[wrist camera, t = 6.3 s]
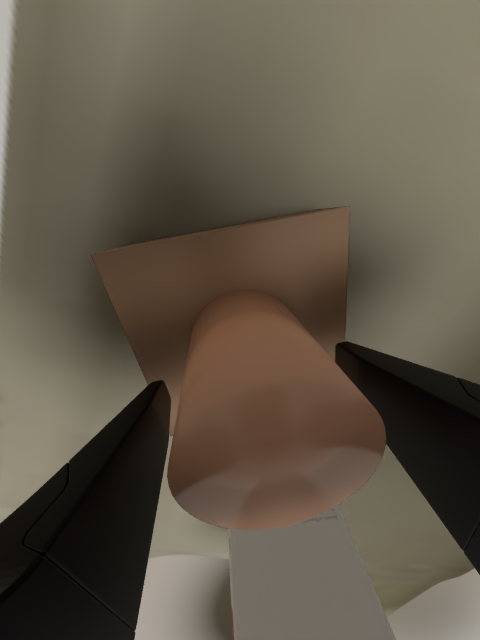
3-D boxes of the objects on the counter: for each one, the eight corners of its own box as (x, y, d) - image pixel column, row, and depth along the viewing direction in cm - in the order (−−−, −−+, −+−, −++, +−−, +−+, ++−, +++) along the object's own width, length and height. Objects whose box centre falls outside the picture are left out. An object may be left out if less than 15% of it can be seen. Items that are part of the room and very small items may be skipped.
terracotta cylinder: (299, 372, 12) (375, 504, 6) (205, 392, 11) (198, 547, 6) (293, 279, 10) (400, 357, 4) (177, 302, 9) (130, 414, 4)
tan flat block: (320, 367, 16) (343, 398, 13) (178, 397, 15) (170, 436, 12) (316, 209, 11) (350, 206, 9) (120, 246, 11) (90, 255, 8)
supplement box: (224, 477, 19) (253, 1077, 6) (323, 465, 20) (547, 961, 7) (228, 532, 23) (250, 975, 10) (311, 520, 24) (439, 909, 10)
